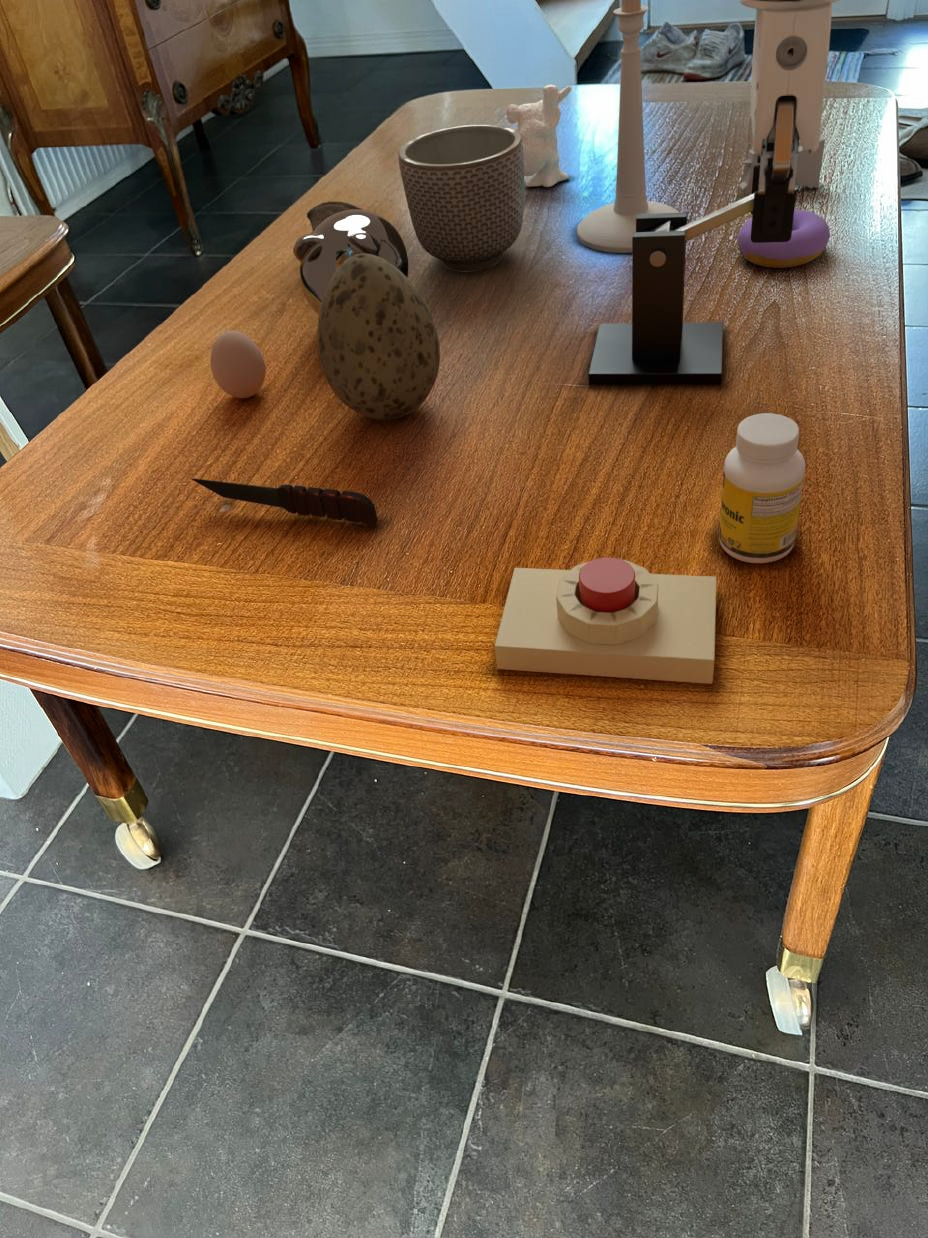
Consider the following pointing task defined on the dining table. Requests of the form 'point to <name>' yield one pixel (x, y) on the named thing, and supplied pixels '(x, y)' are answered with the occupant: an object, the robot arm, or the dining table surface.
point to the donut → (788, 243)
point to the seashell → (327, 211)
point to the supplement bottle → (762, 490)
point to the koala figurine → (540, 136)
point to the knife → (301, 500)
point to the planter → (465, 192)
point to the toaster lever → (712, 218)
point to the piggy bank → (345, 248)
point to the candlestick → (625, 150)
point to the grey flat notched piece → (805, 170)
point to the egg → (237, 364)
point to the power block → (610, 627)
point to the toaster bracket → (658, 319)
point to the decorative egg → (377, 339)
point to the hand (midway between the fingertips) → (769, 224)
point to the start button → (607, 584)
